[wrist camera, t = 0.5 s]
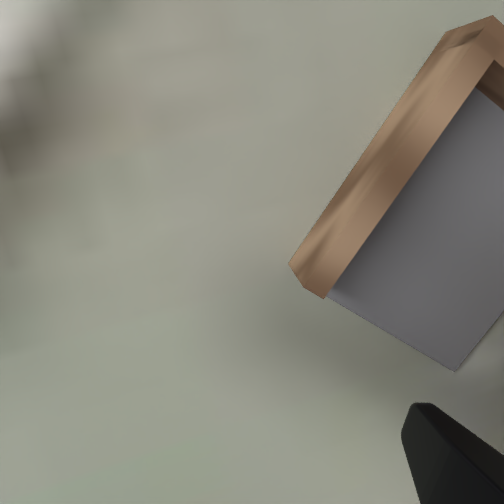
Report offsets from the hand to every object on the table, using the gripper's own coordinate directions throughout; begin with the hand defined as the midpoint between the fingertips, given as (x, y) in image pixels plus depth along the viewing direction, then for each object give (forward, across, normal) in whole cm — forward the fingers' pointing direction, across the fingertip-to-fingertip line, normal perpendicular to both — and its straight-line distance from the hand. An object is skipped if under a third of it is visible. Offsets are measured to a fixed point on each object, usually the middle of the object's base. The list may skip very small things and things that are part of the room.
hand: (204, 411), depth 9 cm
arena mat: (+14, -14, 0) cm, 20 cm away
